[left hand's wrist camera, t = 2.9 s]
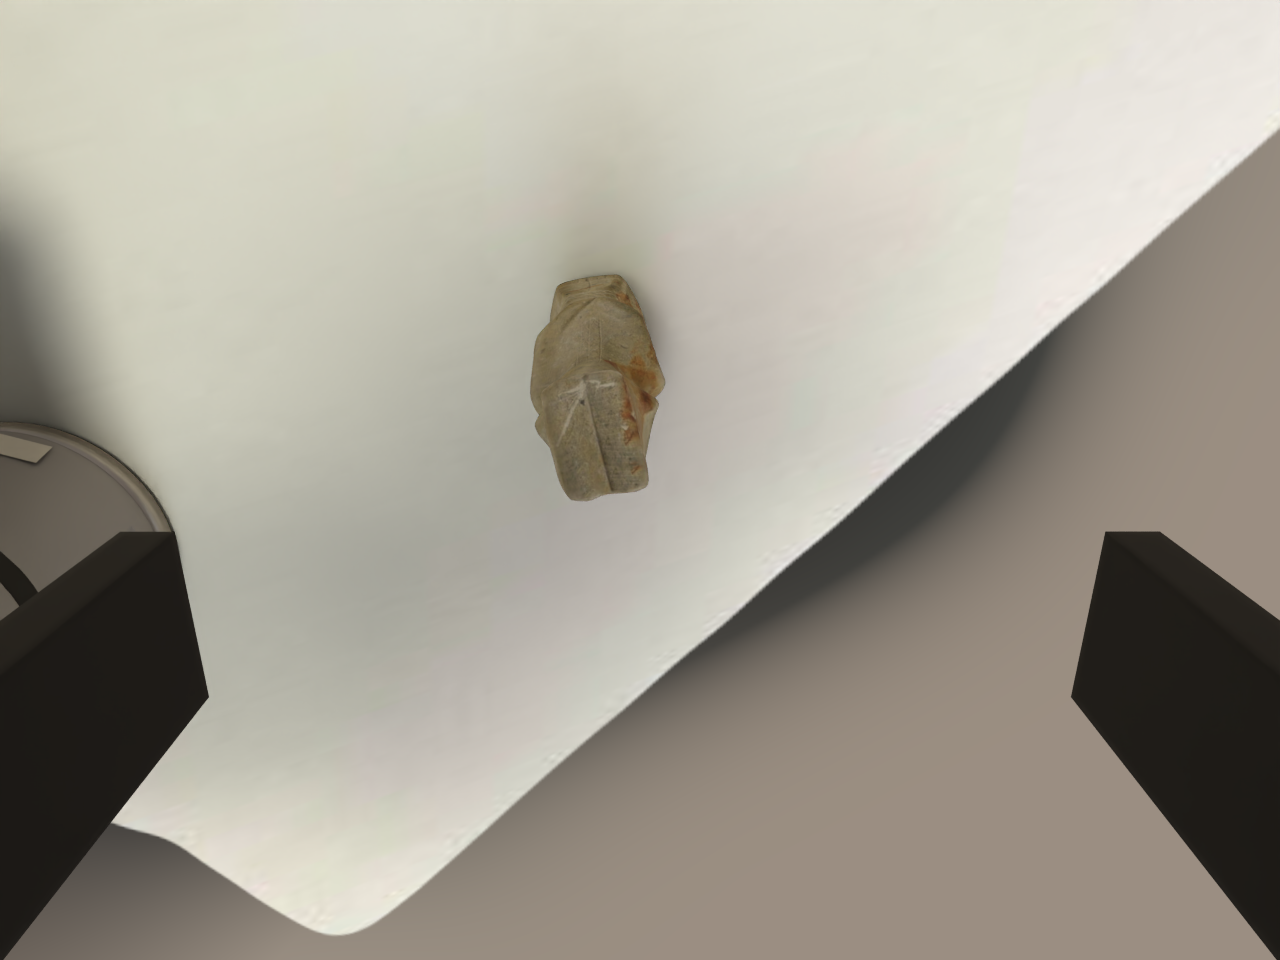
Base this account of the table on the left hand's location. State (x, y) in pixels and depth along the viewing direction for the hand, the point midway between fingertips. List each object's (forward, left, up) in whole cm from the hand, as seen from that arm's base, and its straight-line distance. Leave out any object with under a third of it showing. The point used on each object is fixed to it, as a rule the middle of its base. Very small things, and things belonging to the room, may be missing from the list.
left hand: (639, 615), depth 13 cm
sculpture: (-4, -1, -35) cm, 35 cm away
